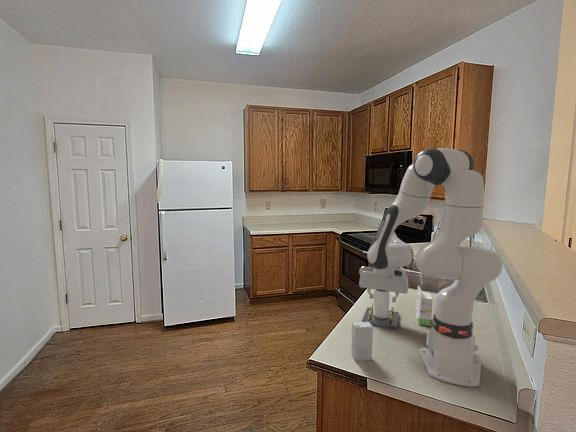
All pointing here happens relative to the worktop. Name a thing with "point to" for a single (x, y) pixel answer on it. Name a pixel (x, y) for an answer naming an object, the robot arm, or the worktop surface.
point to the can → (381, 304)
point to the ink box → (423, 308)
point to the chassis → (386, 323)
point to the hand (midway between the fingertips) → (382, 299)
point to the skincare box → (362, 341)
